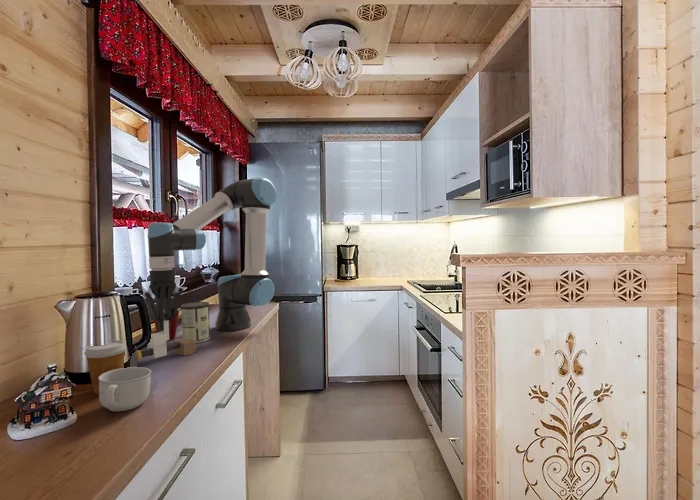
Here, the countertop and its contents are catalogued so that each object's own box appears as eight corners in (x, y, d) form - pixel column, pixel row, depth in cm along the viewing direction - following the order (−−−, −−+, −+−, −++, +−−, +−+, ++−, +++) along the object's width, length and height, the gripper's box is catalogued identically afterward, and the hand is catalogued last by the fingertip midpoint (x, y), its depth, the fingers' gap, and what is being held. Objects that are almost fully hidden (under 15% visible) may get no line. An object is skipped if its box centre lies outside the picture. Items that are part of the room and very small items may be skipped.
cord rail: (184, 349, 136) (183, 330, 135) (195, 352, 131) (194, 332, 131) (117, 367, 118) (116, 345, 118) (127, 372, 114) (126, 349, 114)
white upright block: (160, 352, 127) (159, 332, 127) (166, 355, 125) (165, 334, 124) (147, 356, 124) (146, 334, 124) (154, 358, 122) (153, 336, 121)
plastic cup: (180, 334, 158) (178, 305, 157) (183, 340, 149) (182, 309, 148) (150, 338, 152) (149, 308, 152) (152, 344, 143) (151, 313, 143)
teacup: (119, 396, 96) (117, 365, 96) (161, 396, 96) (159, 364, 95) (78, 423, 82) (76, 387, 82) (127, 423, 82) (125, 386, 82)
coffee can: (190, 336, 154) (189, 301, 154) (215, 336, 153) (213, 301, 153) (176, 343, 144) (175, 306, 144) (202, 343, 143) (201, 306, 143)
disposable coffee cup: (109, 381, 107) (107, 339, 106) (137, 383, 104) (134, 340, 104) (77, 395, 98) (74, 349, 97) (106, 398, 95) (104, 351, 95)
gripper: (147, 271, 118) (150, 346, 119) (186, 268, 129) (189, 336, 129) (136, 270, 123) (139, 342, 123) (175, 267, 133) (177, 334, 134)
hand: (165, 339), depth 126 cm, fingers closed
